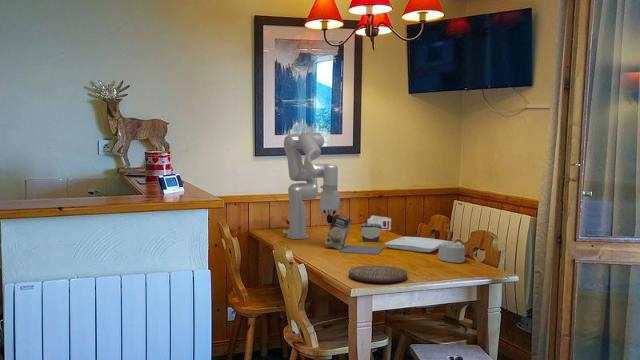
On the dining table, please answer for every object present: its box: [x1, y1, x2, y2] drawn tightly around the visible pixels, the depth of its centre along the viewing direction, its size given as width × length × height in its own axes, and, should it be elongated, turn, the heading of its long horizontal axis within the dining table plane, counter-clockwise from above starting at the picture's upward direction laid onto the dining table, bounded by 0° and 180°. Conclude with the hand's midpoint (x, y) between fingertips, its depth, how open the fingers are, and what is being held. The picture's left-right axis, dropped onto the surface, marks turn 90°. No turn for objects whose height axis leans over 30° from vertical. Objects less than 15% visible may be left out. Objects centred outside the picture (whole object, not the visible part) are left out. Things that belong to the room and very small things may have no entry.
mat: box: [338, 244, 385, 256], centre depth 323 cm, size 20×20×1 cm
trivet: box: [348, 264, 408, 284], centre depth 266 cm, size 25×25×2 cm
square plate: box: [384, 236, 449, 253], centre depth 333 cm, size 27×27×4 cm
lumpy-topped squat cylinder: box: [438, 240, 466, 264], centre depth 301 cm, size 10×13×9 cm
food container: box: [359, 223, 383, 244], centre depth 349 cm, size 12×6×10 cm, turn 84°
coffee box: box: [324, 213, 353, 251], centre depth 325 cm, size 9×6×16 cm
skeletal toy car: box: [366, 215, 392, 231], centre depth 398 cm, size 20×11×7 cm, turn 19°
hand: (329, 223), depth 326 cm, fingers closed
